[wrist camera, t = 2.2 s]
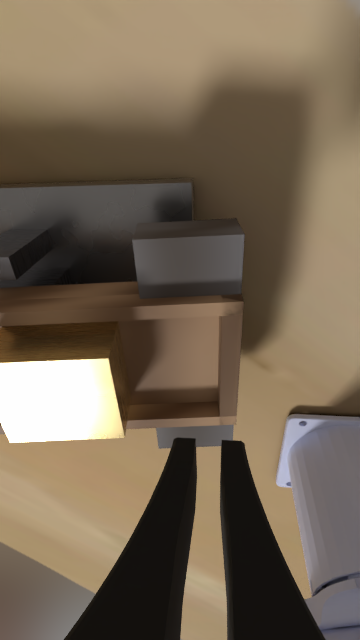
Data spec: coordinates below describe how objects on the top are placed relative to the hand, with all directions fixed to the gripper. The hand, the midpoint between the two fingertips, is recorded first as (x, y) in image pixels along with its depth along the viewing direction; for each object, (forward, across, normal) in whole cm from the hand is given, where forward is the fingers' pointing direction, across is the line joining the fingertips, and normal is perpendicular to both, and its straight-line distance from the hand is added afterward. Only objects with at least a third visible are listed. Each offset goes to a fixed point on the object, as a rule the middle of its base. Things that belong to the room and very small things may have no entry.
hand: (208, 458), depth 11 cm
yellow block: (+4, +6, 0) cm, 8 cm away
